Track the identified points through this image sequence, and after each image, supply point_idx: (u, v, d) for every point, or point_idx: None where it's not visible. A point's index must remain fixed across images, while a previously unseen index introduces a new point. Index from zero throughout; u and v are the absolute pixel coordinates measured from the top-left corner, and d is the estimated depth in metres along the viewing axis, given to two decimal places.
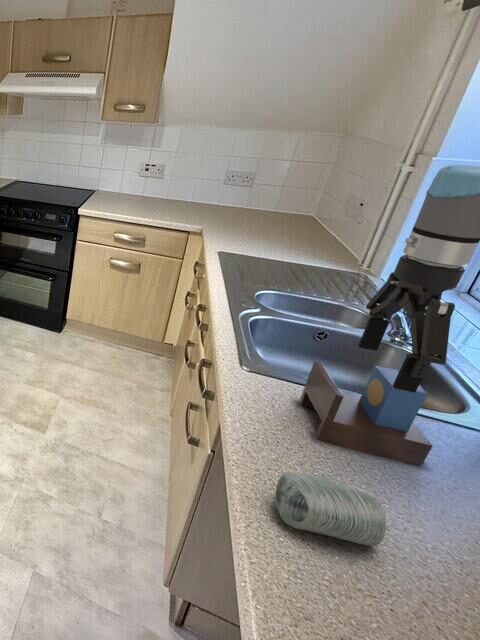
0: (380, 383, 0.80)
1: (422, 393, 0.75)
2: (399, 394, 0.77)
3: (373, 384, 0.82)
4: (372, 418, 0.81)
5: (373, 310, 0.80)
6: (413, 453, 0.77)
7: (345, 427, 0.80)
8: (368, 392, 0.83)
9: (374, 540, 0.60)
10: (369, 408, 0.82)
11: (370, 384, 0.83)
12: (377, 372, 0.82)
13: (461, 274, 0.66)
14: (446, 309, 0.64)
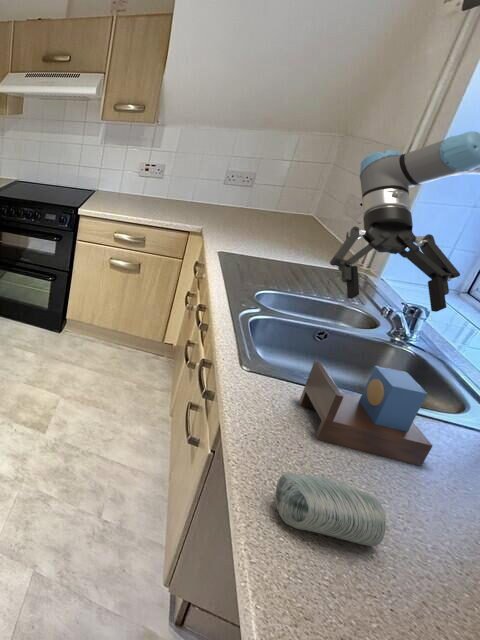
0: (380, 383, 0.80)
1: (422, 393, 0.75)
2: (399, 394, 0.77)
3: (373, 384, 0.82)
4: (372, 418, 0.81)
5: (352, 259, 0.88)
6: (413, 453, 0.77)
7: (345, 427, 0.80)
8: (368, 392, 0.83)
9: (374, 540, 0.60)
10: (369, 408, 0.82)
11: (370, 384, 0.83)
12: (377, 372, 0.82)
13: None
14: None
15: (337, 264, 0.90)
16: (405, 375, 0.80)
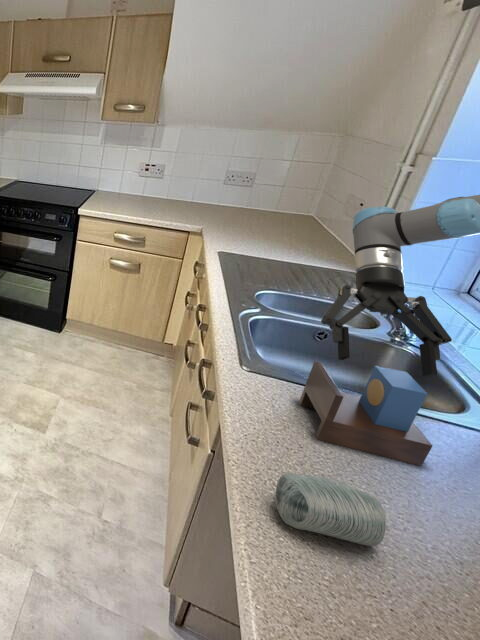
0: (380, 383, 0.80)
1: (422, 393, 0.75)
2: (399, 394, 0.77)
3: (373, 384, 0.82)
4: (372, 418, 0.81)
5: (343, 320, 0.88)
6: (413, 453, 0.77)
7: (345, 427, 0.80)
8: (368, 392, 0.83)
9: (374, 540, 0.60)
10: (369, 408, 0.82)
11: (370, 384, 0.83)
12: (377, 372, 0.82)
13: None
14: None
15: (328, 323, 0.89)
16: (405, 375, 0.80)
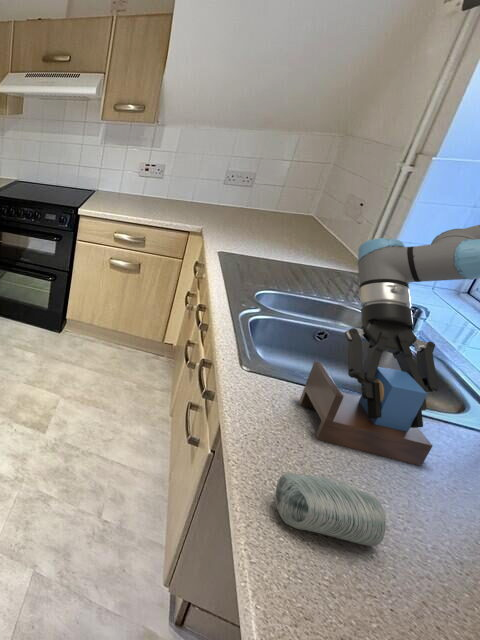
0: (380, 383, 0.80)
1: (422, 393, 0.75)
2: (399, 394, 0.77)
3: None
4: (372, 418, 0.81)
5: (370, 373, 0.82)
6: (413, 453, 0.77)
7: (345, 427, 0.80)
8: None
9: (374, 540, 0.60)
10: None
11: None
12: (377, 372, 0.82)
13: None
14: None
15: (356, 377, 0.83)
16: (405, 375, 0.80)
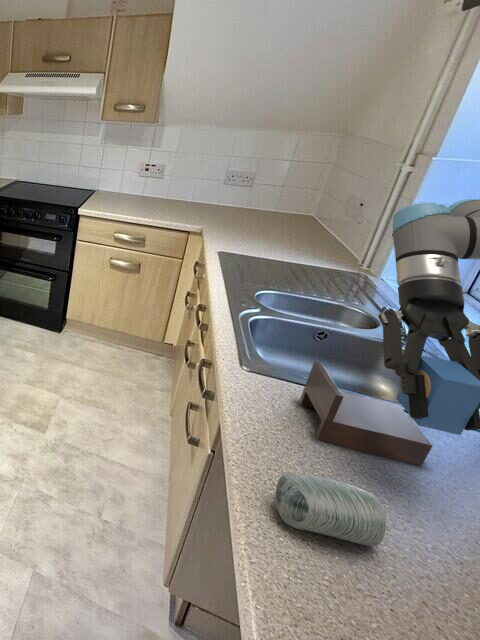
0: (425, 375, 0.65)
1: None
2: (451, 389, 0.62)
3: None
4: (415, 418, 0.66)
5: (413, 363, 0.67)
6: (413, 453, 0.77)
7: (345, 427, 0.80)
8: None
9: (374, 540, 0.60)
10: None
11: None
12: (421, 362, 0.67)
13: None
14: None
15: (395, 369, 0.68)
16: (457, 365, 0.65)
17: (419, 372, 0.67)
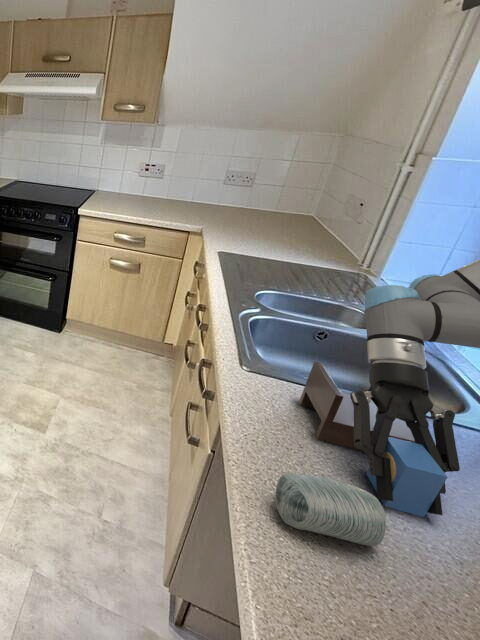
0: (391, 458, 0.69)
1: (441, 476, 0.64)
2: (414, 475, 0.66)
3: None
4: None
5: (380, 446, 0.71)
6: None
7: (345, 427, 0.80)
8: None
9: (374, 540, 0.60)
10: None
11: None
12: (388, 444, 0.71)
13: None
14: None
15: (363, 450, 0.72)
16: (421, 449, 0.69)
17: (386, 454, 0.71)
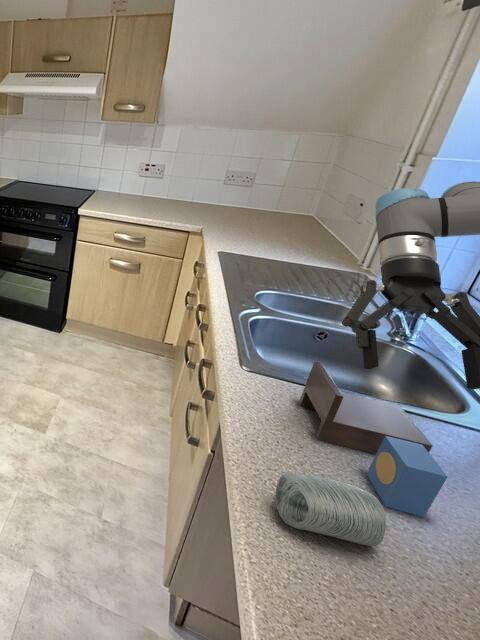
0: (391, 458, 0.69)
1: (441, 476, 0.64)
2: (414, 475, 0.66)
3: (383, 458, 0.71)
4: (382, 498, 0.70)
5: (369, 321, 0.74)
6: None
7: (345, 427, 0.80)
8: (377, 466, 0.72)
9: (374, 540, 0.60)
10: (378, 484, 0.71)
11: (379, 457, 0.72)
12: (388, 444, 0.71)
13: None
14: None
15: (351, 326, 0.75)
16: (421, 449, 0.69)
17: (386, 454, 0.71)
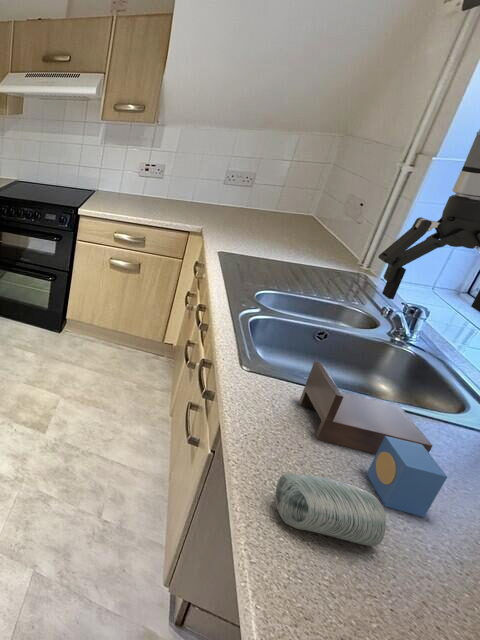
0: (391, 458, 0.69)
1: (441, 476, 0.64)
2: (414, 475, 0.66)
3: (383, 458, 0.71)
4: (382, 498, 0.70)
5: (403, 261, 0.80)
6: None
7: (345, 427, 0.80)
8: (377, 466, 0.72)
9: (374, 540, 0.60)
10: (378, 484, 0.71)
11: (379, 457, 0.72)
12: (388, 444, 0.71)
13: None
14: None
15: None
16: (421, 449, 0.69)
17: (386, 454, 0.71)
